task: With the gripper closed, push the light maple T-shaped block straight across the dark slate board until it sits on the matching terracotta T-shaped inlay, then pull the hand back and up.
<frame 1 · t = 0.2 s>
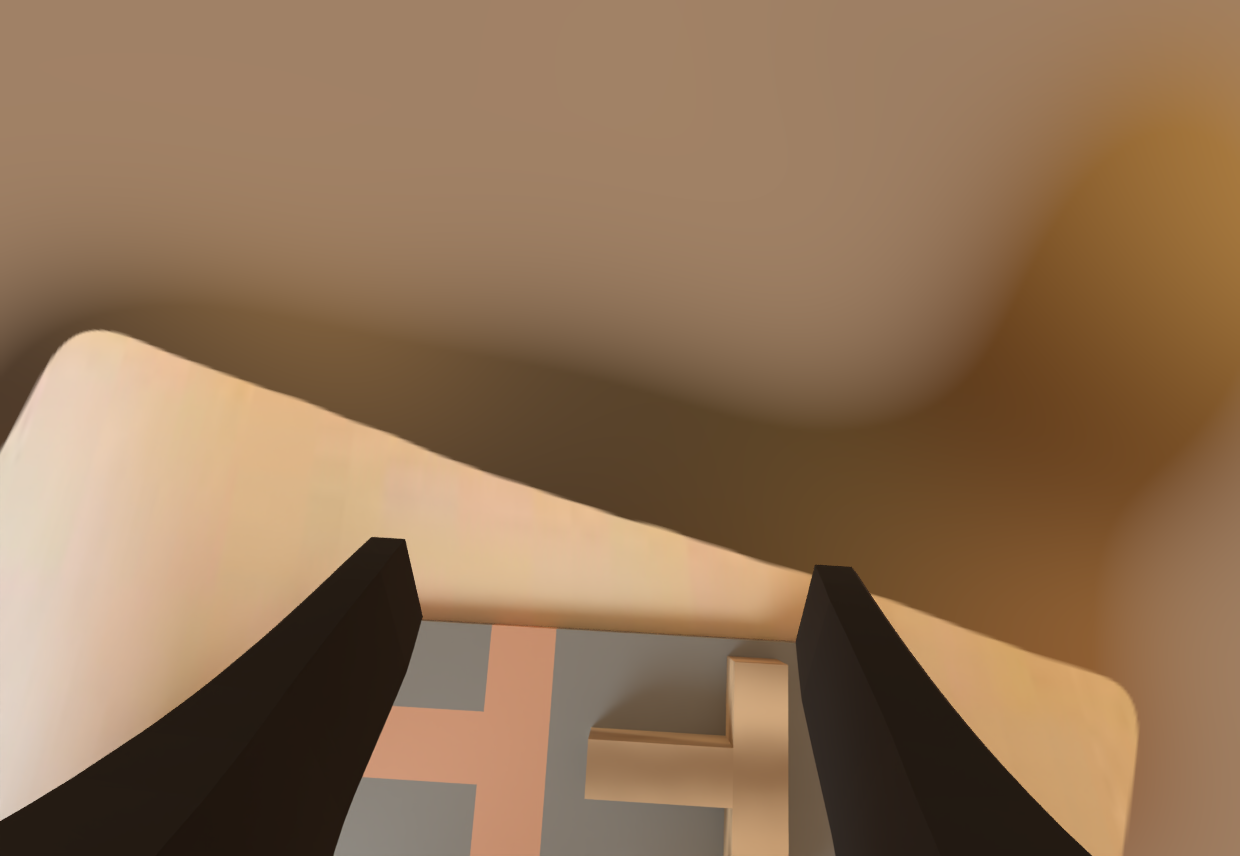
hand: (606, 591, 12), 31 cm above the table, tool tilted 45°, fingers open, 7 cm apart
slate board: (565, 748, 40), on the table
t block: (682, 760, 39), point 1 cm above the table, touching slate board
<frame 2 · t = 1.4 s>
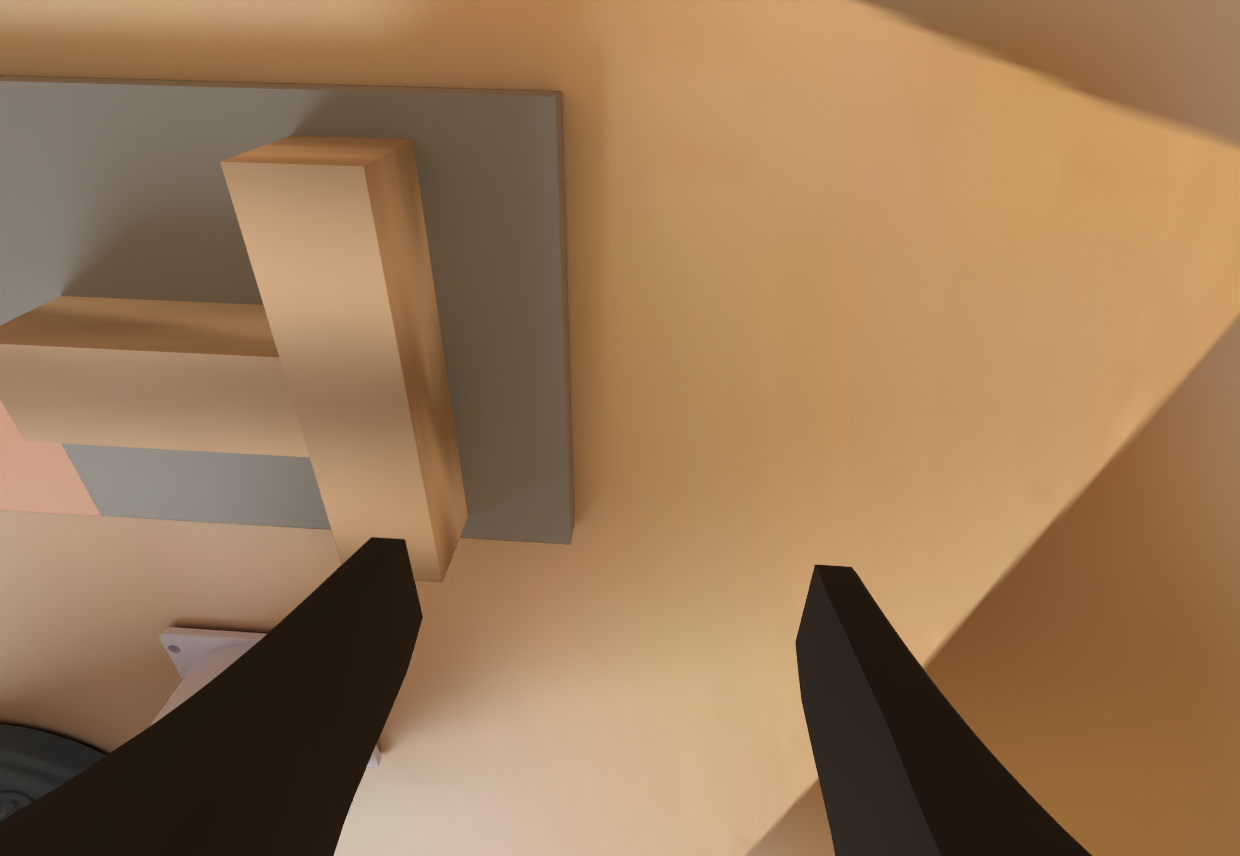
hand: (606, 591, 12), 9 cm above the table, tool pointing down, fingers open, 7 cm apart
canister: (60, 780, 38), on the table
slate board: (60, 326, 21), on the table
t block: (261, 351, 19), point 1 cm above the table, touching slate board
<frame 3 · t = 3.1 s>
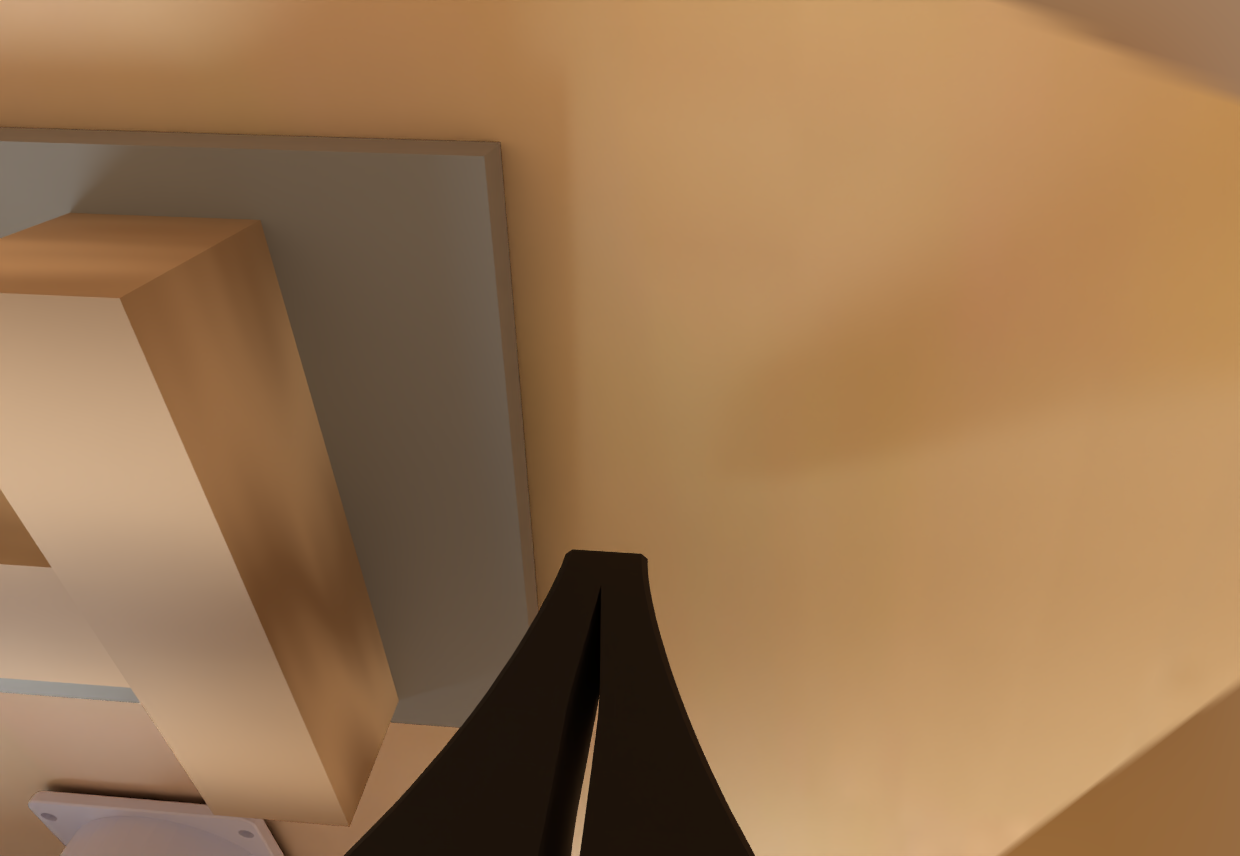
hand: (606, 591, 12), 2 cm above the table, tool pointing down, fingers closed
t block: (85, 505, 13), point 1 cm above the table, touching slate board
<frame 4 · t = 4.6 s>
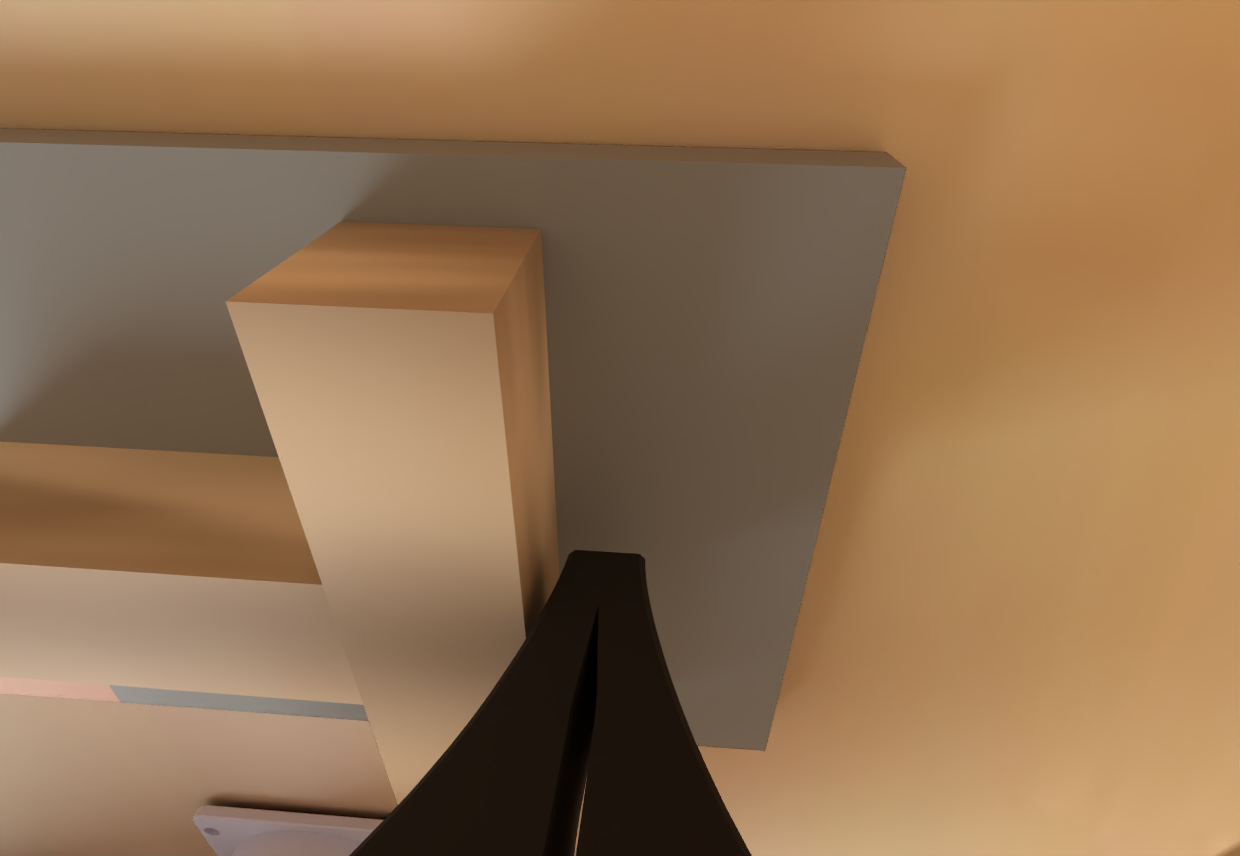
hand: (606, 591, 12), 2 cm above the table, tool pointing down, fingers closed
slate board: (64, 472, 14), on the table
t block: (286, 516, 13), point 1 cm above the table, touching gripper, slate board
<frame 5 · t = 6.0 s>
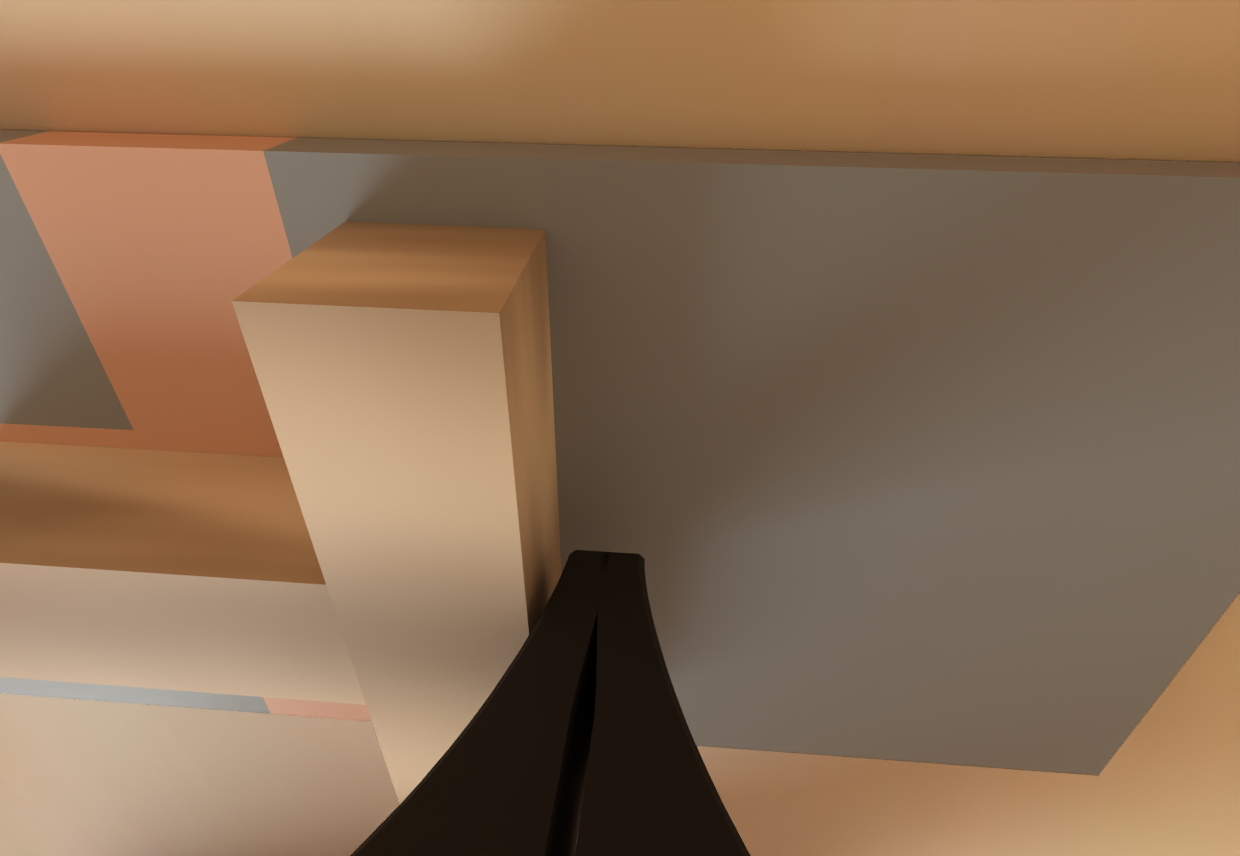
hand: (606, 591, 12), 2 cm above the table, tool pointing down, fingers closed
slate board: (429, 493, 14), on the table
t block: (288, 516, 13), point 1 cm above the table, touching gripper
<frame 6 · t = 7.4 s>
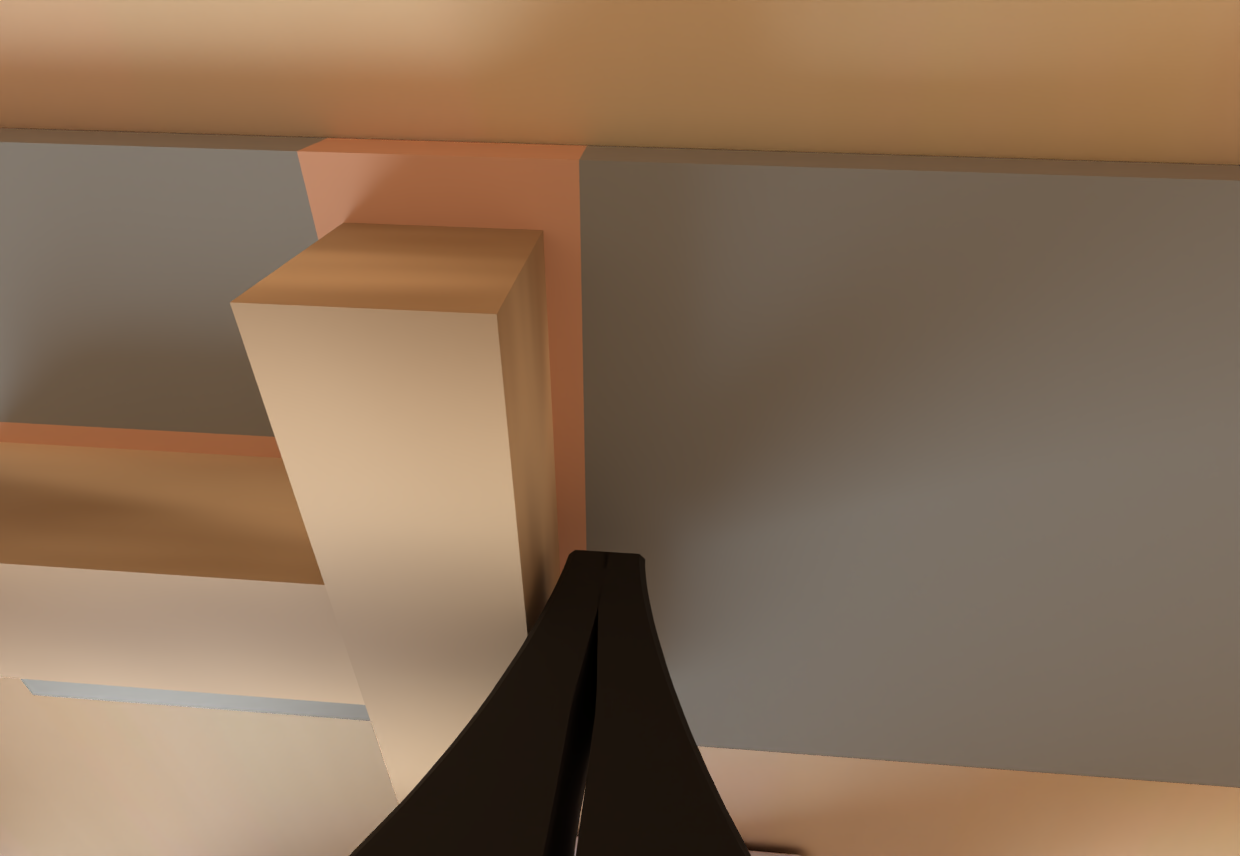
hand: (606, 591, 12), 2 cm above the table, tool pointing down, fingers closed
slate board: (639, 505, 14), on the table
t block: (287, 516, 13), point 1 cm above the table, touching gripper, slate board
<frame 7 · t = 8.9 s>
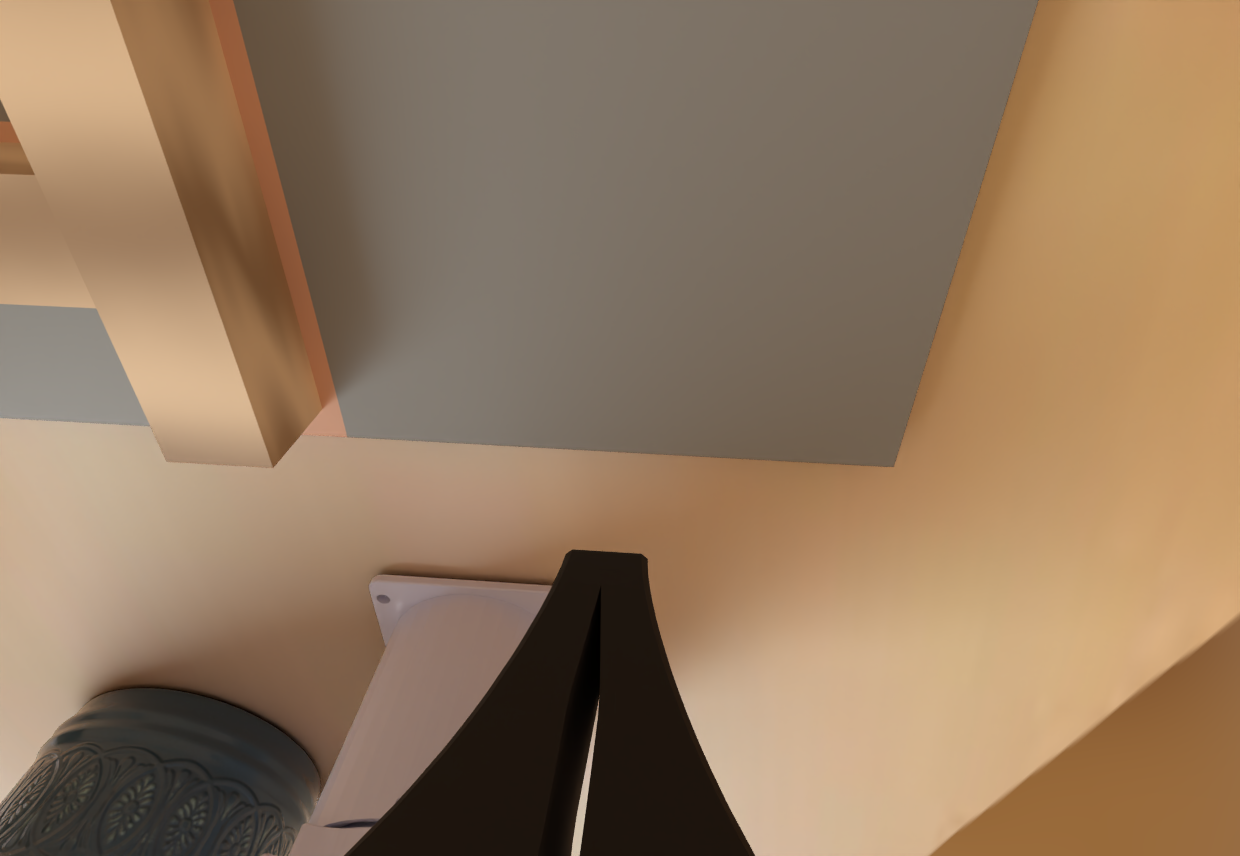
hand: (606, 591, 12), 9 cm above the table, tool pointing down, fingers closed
canister: (206, 752, 35), on the table
slate board: (343, 204, 18), on the table
t block: (64, 204, 17), point 1 cm above the table, touching slate board
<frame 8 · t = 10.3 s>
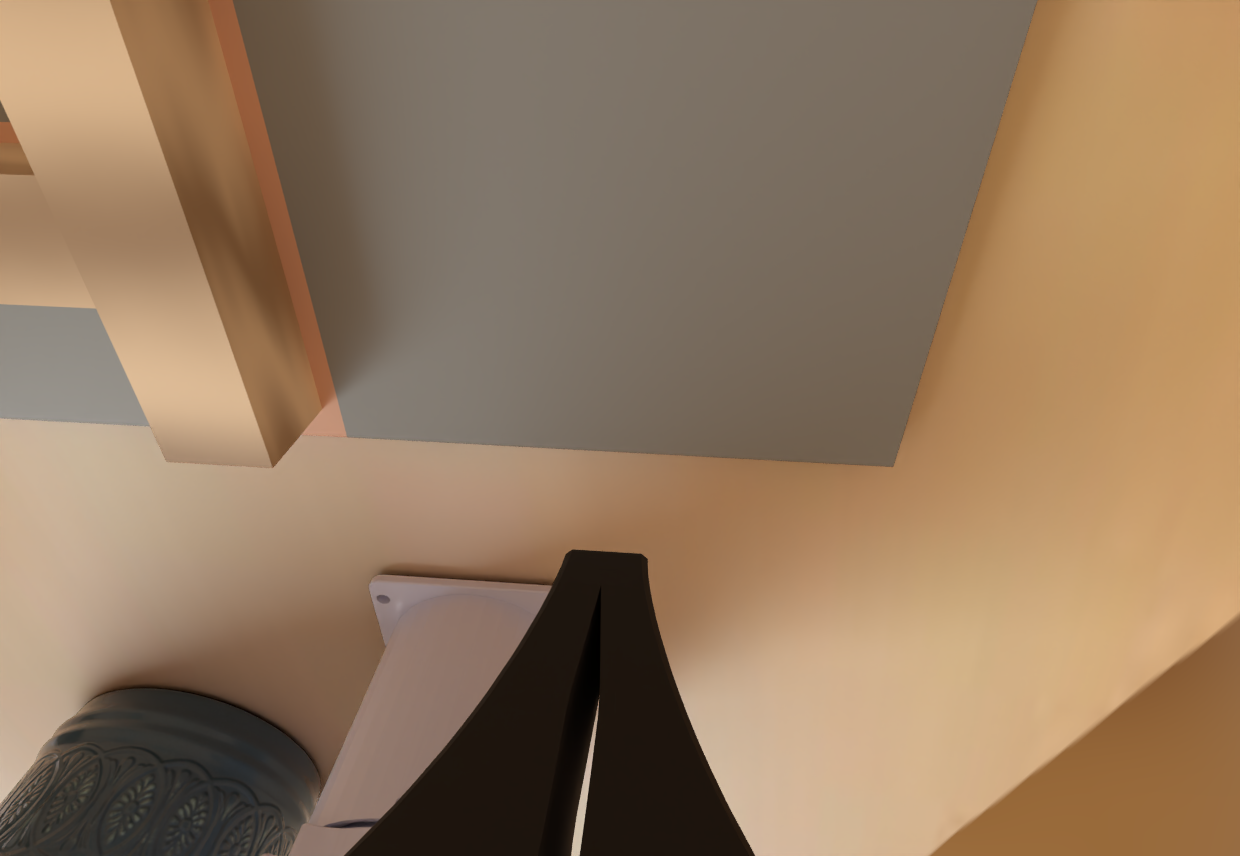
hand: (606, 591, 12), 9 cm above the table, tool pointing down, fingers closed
canister: (207, 752, 35), on the table
slate board: (342, 204, 18), on the table
t block: (64, 204, 17), point 1 cm above the table, touching slate board
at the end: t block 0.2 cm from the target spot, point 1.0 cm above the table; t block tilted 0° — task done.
